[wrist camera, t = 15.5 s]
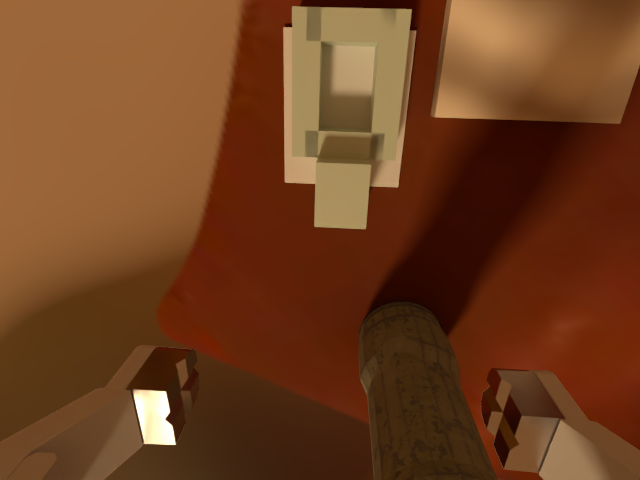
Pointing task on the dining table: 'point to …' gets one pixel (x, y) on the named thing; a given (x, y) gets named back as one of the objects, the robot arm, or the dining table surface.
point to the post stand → (537, 60)
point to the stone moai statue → (417, 399)
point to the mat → (344, 105)
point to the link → (346, 143)
